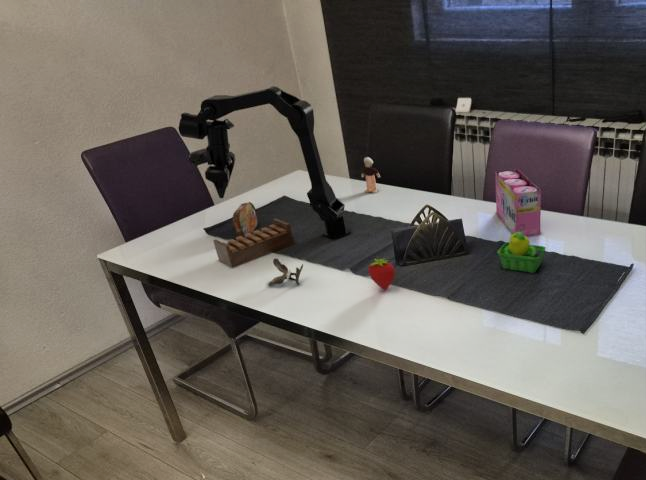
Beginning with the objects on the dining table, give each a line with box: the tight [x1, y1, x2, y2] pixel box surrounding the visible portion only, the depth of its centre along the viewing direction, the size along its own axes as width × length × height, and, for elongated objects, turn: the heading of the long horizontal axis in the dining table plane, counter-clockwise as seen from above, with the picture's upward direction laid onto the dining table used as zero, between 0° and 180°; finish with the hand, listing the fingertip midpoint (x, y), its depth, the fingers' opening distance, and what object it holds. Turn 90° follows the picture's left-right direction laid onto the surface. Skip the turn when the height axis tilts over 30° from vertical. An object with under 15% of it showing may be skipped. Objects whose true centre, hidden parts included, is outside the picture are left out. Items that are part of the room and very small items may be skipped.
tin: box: [232, 201, 259, 237], centre depth 194 cm, size 15×3×8 cm, turn 179°
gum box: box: [495, 168, 542, 237], centre depth 184 cm, size 24×8×14 cm, turn 13°
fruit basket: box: [496, 232, 547, 274], centre depth 157 cm, size 11×9×11 cm
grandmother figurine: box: [360, 156, 381, 194], centre depth 219 cm, size 8×4×13 cm, turn 81°
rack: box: [212, 218, 295, 269], centre depth 180 cm, size 8×21×6 cm, turn 135°
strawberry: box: [368, 257, 396, 291], centre depth 152 cm, size 6×8×10 cm
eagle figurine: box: [268, 258, 304, 287], centre depth 161 cm, size 8×7×9 cm
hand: (223, 192), depth 186 cm, fingers open, 9 cm apart
